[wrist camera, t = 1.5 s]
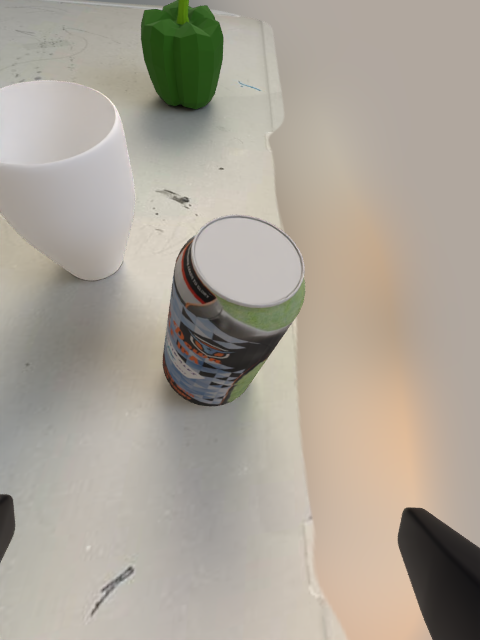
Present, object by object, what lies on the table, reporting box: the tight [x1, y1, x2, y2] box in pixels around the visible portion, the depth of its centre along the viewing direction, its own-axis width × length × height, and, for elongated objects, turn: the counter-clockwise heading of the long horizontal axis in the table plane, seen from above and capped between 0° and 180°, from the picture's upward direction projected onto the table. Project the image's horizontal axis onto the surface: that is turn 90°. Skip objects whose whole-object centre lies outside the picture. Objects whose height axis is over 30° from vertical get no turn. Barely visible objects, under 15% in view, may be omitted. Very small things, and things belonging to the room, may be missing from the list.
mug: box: [0, 80, 135, 280], centre depth 26 cm, size 12×8×11 cm
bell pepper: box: [141, 0, 223, 109], centre depth 38 cm, size 8×8×10 cm
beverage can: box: [163, 215, 305, 406], centre depth 20 cm, size 6×7×12 cm
